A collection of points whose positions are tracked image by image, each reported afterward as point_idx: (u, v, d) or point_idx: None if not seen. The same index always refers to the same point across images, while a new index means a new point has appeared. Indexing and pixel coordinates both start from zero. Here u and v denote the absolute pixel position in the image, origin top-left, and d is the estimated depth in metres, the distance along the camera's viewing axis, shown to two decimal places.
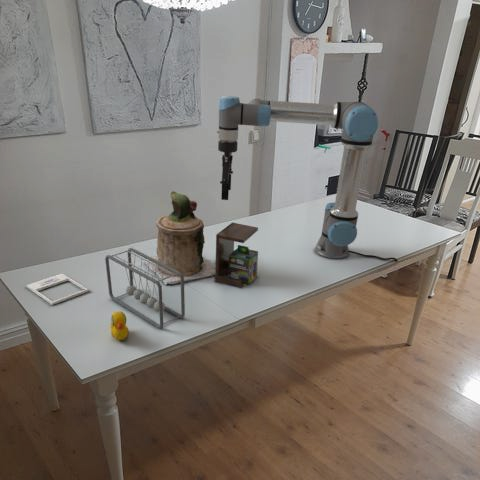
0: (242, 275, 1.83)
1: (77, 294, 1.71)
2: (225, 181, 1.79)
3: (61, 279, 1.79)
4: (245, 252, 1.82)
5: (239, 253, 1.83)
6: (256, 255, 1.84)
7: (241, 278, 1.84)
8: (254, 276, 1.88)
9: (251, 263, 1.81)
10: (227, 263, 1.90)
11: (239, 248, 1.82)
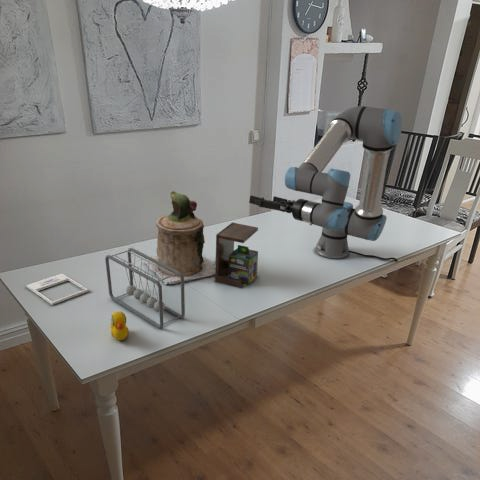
0: (242, 275, 1.83)
1: (77, 294, 1.71)
2: None
3: (61, 279, 1.79)
4: (245, 252, 1.82)
5: (239, 253, 1.83)
6: (256, 255, 1.84)
7: (241, 278, 1.84)
8: (254, 276, 1.88)
9: (251, 263, 1.81)
10: (227, 263, 1.90)
11: (239, 248, 1.82)
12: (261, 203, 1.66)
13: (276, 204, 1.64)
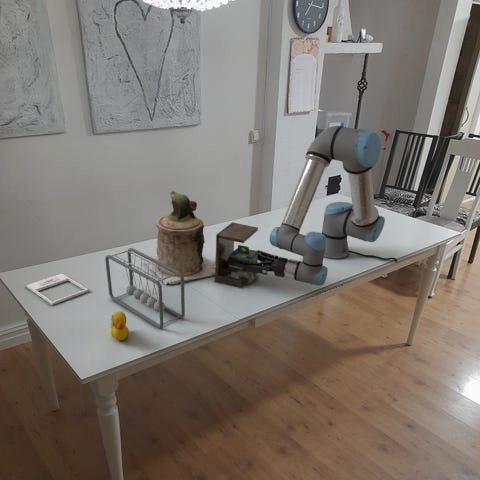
0: (242, 274, 1.83)
1: (77, 294, 1.71)
2: None
3: (61, 279, 1.79)
4: (245, 252, 1.82)
5: (239, 253, 1.83)
6: (256, 255, 1.84)
7: (241, 278, 1.84)
8: (254, 276, 1.88)
9: None
10: (227, 263, 1.90)
11: (239, 248, 1.82)
12: (244, 268, 1.77)
13: (258, 268, 1.76)
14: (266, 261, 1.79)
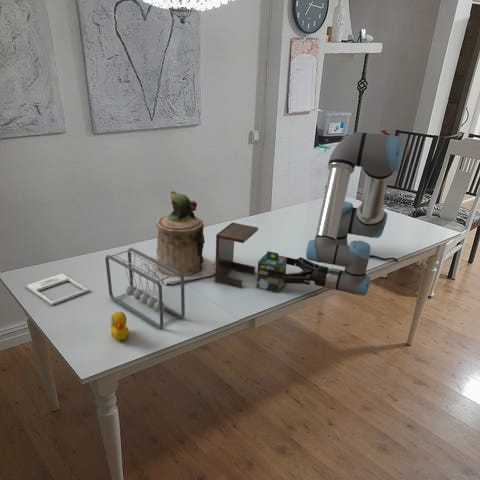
0: (272, 281, 1.79)
1: (77, 294, 1.71)
2: None
3: (61, 279, 1.79)
4: (274, 258, 1.79)
5: (268, 259, 1.79)
6: (285, 261, 1.81)
7: (270, 285, 1.80)
8: None
9: (280, 270, 1.78)
10: (227, 263, 1.90)
11: (268, 254, 1.79)
12: (286, 280, 1.70)
13: (301, 279, 1.70)
14: (306, 270, 1.74)
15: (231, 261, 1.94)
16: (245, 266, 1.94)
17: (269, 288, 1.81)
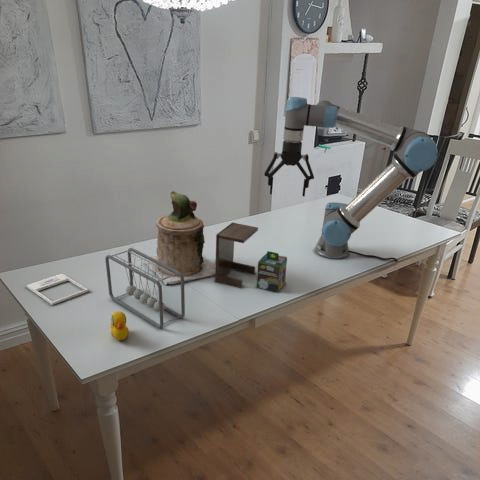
0: (272, 281, 1.79)
1: (77, 294, 1.71)
2: (264, 173, 1.89)
3: (61, 279, 1.79)
4: (274, 258, 1.79)
5: (268, 259, 1.79)
6: (285, 261, 1.81)
7: (270, 285, 1.80)
8: (283, 282, 1.85)
9: (280, 270, 1.78)
10: (227, 263, 1.90)
11: (268, 254, 1.79)
12: None
13: None
14: (295, 162, 1.85)
15: (231, 261, 1.94)
16: (245, 266, 1.94)
17: (269, 288, 1.81)
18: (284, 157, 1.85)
